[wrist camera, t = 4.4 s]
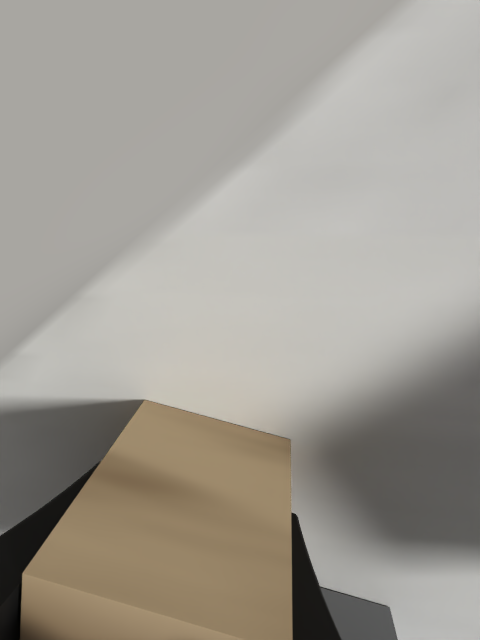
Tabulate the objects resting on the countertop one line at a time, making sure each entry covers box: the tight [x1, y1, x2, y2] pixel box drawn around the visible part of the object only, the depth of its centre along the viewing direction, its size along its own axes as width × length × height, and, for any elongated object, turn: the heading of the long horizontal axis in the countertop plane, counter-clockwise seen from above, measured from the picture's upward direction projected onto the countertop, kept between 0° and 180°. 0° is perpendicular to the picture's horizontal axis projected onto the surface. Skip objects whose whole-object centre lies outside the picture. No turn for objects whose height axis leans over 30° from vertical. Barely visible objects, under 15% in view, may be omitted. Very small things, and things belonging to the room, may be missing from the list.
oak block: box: [20, 400, 293, 640], centre depth 10 cm, size 5×5×6 cm
